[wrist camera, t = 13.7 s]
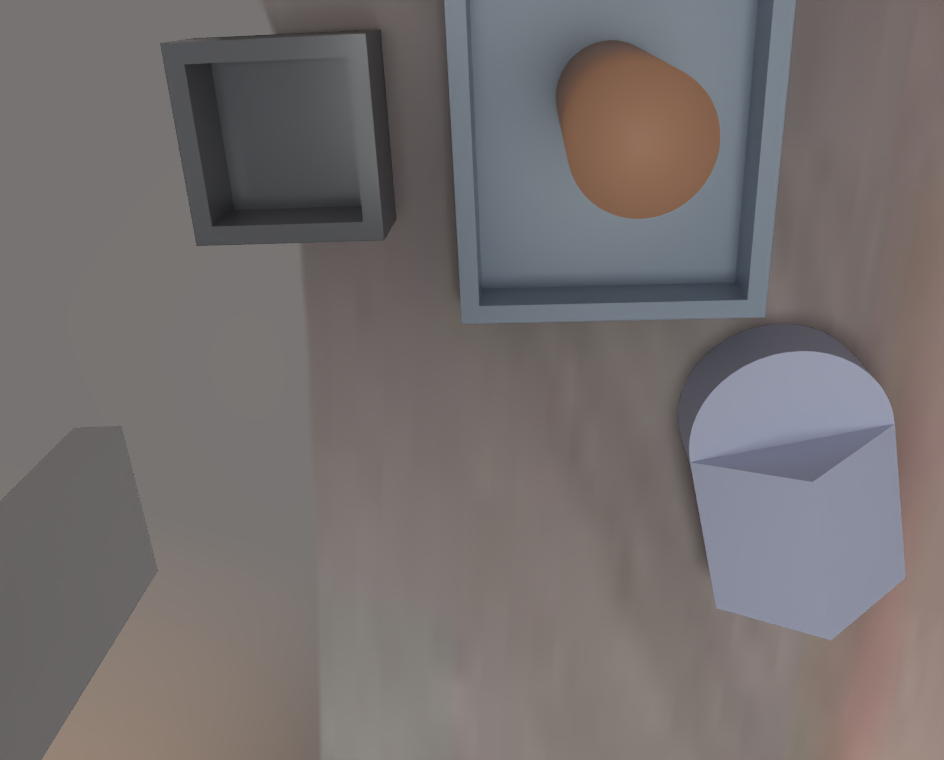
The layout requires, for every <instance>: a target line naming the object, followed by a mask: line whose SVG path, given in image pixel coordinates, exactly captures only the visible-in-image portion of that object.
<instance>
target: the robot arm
mask: <svg viewBox="0 0 944 760" xmlns="http://www.w3.org/2000/svg"><path fill="white" fill-rule="evenodd" d="M157 571H158V570H157V566H156V562H155V558H154V554H153V550H152V546H151V542H150V538H149V534H148V530H147V526H146V522H145V518H144V514H143V510H142V506H141V502H140V498H139V494H138V490H137V486H136V482H135V478H134V474H133V470H132V466H131V462H130V458H129V455H128V450H127V447H126V443H125V439H124V435H123V431H122V427H121V426H112V427H88V428H87V427H85V428H74V429H73V430H72V431H71V432H70V433H69V434H68V435H67V436H66V437H64V438H63V440H62V441H61V442H59V444H57V445H56V446H55V448H53V450H51V451H50V452H49V453H48V454H47V455H46V456H45V457H44V458H43V459H42V460H41V461H40V462H39V463H38V464H37V465H36V466H35V467H34V468H33V469H32V470H31V471H30V472H29V473H28V474H27V475H26V476H25V477H24V478H23V479H22V480H21V481H20V482H19V483H18V484H17V485H16V486H15V487H14V488H13V489H12V490H11V491H10V492H9V493H8V494H7V495H6V496H5V497H4V498H3V499H2V500H1V501H0V760H41V759H42V758H43V756H44V755H45V753H46V751H47V750H48V748H49V746H50V745H51V743H52V741H53V740H54V738H55V736H56V735H57V733H58V732H59V730H60V729H61V727H62V725H63V724H64V722H65V720H66V719H67V717H68V715H69V714H70V712H71V710H72V709H73V707H74V706H75V704H76V703H77V701H78V699H79V698H80V696H81V694H82V693H83V691H84V690H85V688H86V686H87V685H88V683H89V681H90V680H91V678H92V676H93V675H94V673H95V672H96V670H97V668H98V667H99V665H100V664H101V662H102V660H103V659H104V657H105V655H106V654H107V652H108V651H109V649H110V647H111V646H112V644H113V642H114V641H115V639H116V638H117V636H118V634H119V633H120V631H121V629H122V628H123V626H124V625H125V623H126V621H127V620H128V618H129V616H130V615H131V613H132V612H133V610H134V608H135V607H136V605H137V603H138V602H139V600H140V599H141V597H142V595H143V594H144V592H145V590H146V589H147V587H148V586H149V584H150V582H151V581H152V579H153V578H154V576H155V574H156V573H157Z"/></svg>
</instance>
